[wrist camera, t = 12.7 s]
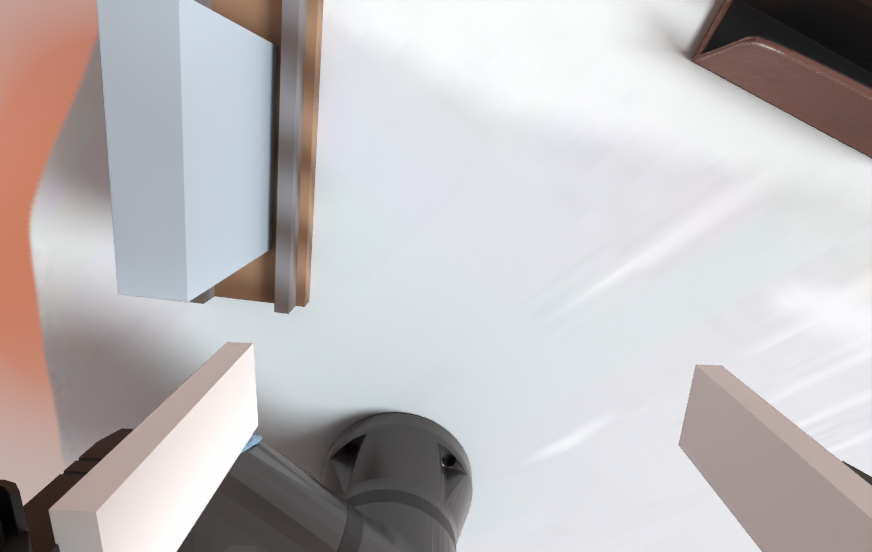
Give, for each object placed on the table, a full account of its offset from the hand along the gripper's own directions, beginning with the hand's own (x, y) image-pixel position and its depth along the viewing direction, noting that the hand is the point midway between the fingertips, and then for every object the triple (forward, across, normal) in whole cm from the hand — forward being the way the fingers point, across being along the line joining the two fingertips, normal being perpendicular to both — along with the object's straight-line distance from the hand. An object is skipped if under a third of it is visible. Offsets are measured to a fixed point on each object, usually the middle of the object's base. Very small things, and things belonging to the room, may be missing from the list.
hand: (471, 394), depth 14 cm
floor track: (+28, +17, -6) cm, 34 cm away
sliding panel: (+27, +17, -6) cm, 32 cm away
